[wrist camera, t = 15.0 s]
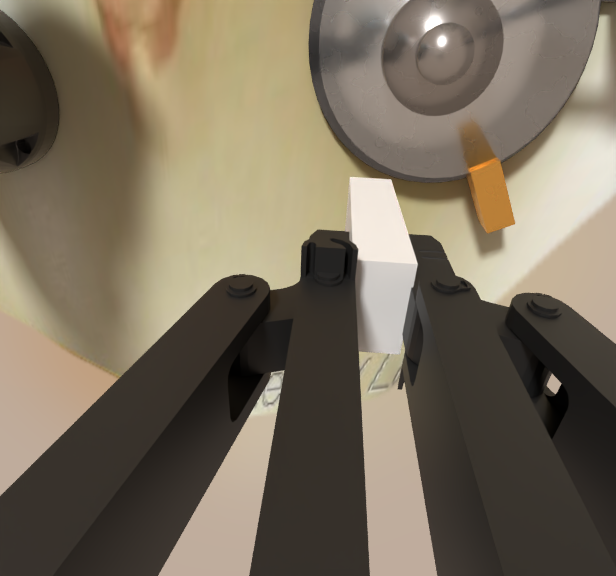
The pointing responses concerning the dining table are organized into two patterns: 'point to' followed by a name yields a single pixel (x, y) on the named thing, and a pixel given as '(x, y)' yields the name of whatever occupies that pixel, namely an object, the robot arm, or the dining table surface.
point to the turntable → (473, 118)
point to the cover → (441, 53)
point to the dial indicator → (608, 0)
